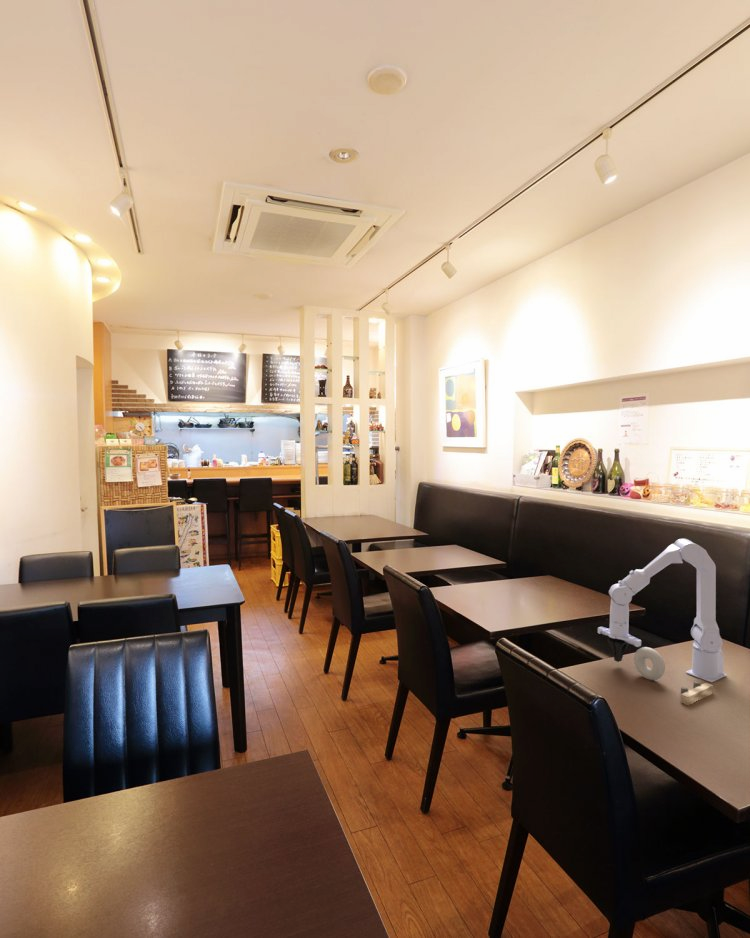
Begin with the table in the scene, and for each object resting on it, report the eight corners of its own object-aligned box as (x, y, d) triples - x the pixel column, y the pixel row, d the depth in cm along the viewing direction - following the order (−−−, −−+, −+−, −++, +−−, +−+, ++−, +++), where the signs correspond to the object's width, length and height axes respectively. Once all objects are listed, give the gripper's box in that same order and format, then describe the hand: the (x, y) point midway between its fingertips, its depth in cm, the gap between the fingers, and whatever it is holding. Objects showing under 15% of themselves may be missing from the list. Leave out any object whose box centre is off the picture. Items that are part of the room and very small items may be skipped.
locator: (699, 688, 159) (699, 678, 159) (712, 693, 156) (713, 683, 156) (674, 700, 152) (674, 690, 151) (687, 705, 148) (688, 695, 148)
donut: (667, 684, 162) (668, 652, 161) (660, 686, 160) (661, 654, 160) (637, 671, 171) (638, 641, 170) (630, 673, 169) (631, 643, 168)
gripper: (592, 616, 178) (591, 655, 178) (632, 629, 165) (631, 671, 166) (605, 613, 181) (604, 651, 182) (645, 625, 169) (644, 666, 170)
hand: (618, 660), depth 174 cm, fingers closed
